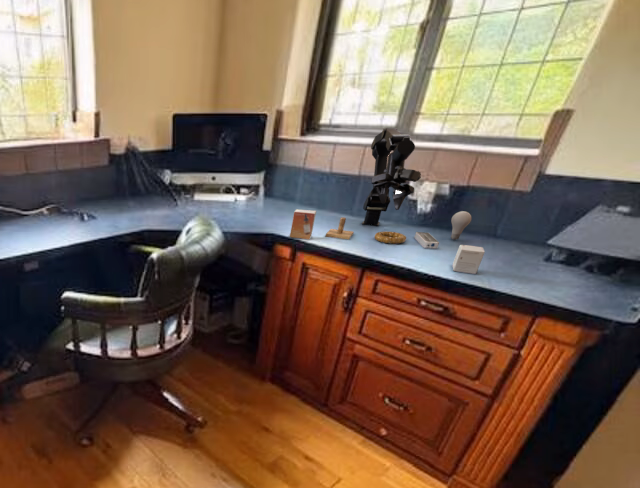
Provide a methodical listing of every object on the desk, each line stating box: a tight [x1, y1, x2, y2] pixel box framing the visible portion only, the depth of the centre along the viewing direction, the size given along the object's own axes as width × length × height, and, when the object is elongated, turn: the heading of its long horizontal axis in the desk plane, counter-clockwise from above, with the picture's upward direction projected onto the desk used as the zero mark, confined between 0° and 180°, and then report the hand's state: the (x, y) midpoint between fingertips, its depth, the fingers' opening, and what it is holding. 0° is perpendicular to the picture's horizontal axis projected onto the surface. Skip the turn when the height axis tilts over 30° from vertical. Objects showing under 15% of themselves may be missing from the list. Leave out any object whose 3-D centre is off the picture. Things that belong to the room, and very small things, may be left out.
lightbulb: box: [450, 210, 472, 241], centre depth 162 cm, size 6×6×11 cm
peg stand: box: [325, 216, 355, 240], centre depth 172 cm, size 9×9×7 cm
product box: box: [452, 244, 486, 275], centre depth 134 cm, size 6×6×7 cm
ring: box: [373, 231, 407, 245], centre depth 166 cm, size 11×11×2 cm
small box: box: [289, 208, 317, 240], centre depth 171 cm, size 8×6×10 cm
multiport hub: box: [413, 231, 440, 250], centre depth 162 cm, size 4×14×2 cm, turn 162°
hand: (390, 206), depth 162 cm, fingers open, 9 cm apart
